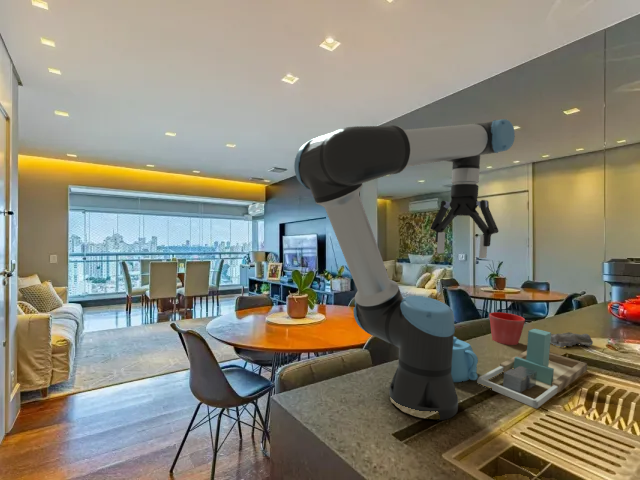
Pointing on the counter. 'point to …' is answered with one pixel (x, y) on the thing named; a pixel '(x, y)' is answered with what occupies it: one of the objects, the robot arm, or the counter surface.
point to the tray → (513, 394)
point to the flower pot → (506, 327)
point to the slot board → (555, 369)
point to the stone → (570, 339)
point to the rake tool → (537, 355)
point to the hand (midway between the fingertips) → (460, 255)
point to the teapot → (463, 362)
